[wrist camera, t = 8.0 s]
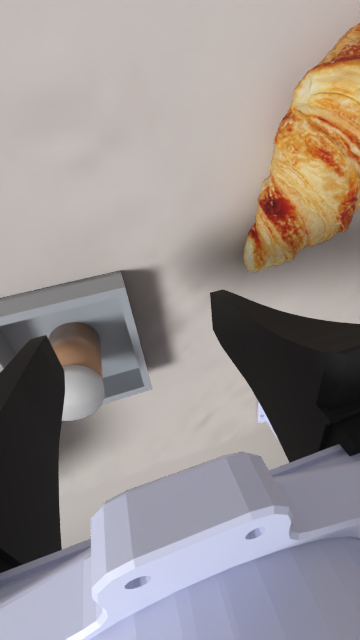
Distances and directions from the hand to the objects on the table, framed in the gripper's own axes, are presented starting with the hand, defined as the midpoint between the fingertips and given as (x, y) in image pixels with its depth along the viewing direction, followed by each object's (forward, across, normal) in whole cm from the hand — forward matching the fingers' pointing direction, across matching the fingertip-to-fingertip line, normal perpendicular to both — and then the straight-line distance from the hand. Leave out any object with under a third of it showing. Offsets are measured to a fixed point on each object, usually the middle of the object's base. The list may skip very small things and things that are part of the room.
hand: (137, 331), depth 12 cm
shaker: (+9, +5, +6) cm, 12 cm away
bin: (+10, +5, +6) cm, 13 cm away
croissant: (+10, -16, -5) cm, 20 cm away
